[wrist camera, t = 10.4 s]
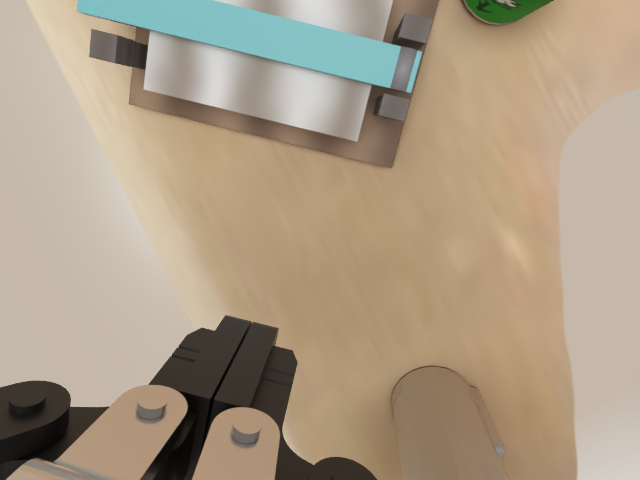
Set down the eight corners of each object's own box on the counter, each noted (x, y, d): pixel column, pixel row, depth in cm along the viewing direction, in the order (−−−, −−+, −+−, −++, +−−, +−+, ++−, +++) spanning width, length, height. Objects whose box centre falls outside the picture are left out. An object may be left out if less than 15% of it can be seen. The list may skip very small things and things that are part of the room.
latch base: (438, -8, 40) (466, -47, 30) (389, 166, 44) (400, 180, 35) (158, -77, 40) (96, -137, 30) (138, 104, 44) (79, 102, 35)
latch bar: (419, 54, 34) (423, 51, 32) (408, 93, 35) (411, 93, 33) (90, -28, 34) (77, -34, 32) (87, 15, 35) (74, 10, 33)
